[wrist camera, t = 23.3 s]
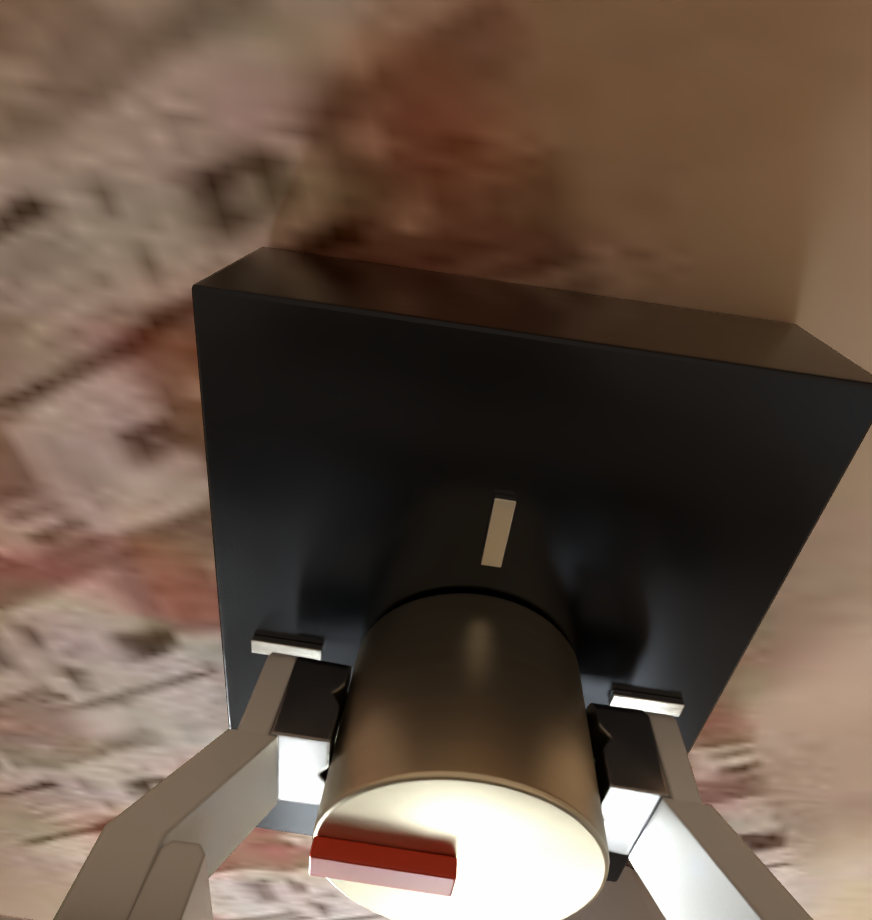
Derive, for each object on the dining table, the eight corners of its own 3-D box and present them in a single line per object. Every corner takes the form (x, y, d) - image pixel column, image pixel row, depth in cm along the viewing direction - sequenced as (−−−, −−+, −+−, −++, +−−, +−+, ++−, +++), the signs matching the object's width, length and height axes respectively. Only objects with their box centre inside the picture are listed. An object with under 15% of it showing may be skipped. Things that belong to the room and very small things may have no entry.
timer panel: (599, 773, 18) (618, 890, 15) (272, 723, 18) (233, 831, 15) (798, 323, 11) (902, 391, 8) (260, 245, 11) (183, 286, 8)
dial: (605, 610, 11) (656, 829, 7) (550, 757, 13) (571, 976, 10) (364, 574, 11) (307, 776, 7) (351, 727, 13) (303, 934, 10)
